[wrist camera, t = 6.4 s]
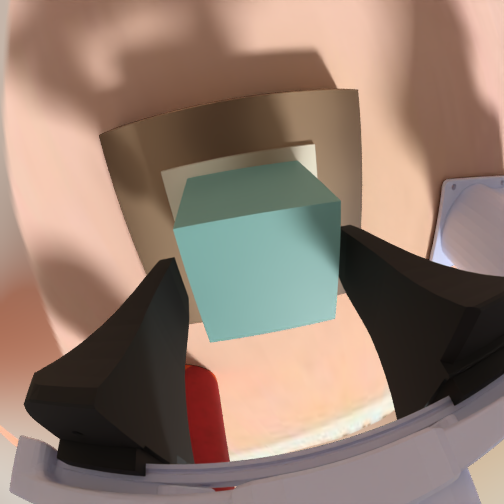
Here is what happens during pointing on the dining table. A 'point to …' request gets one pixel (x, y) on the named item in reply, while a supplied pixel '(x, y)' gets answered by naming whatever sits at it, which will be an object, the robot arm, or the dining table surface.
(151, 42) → the dining table surface
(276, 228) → the teal block
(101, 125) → the dining table surface
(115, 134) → the walnut base
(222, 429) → the paper cup
